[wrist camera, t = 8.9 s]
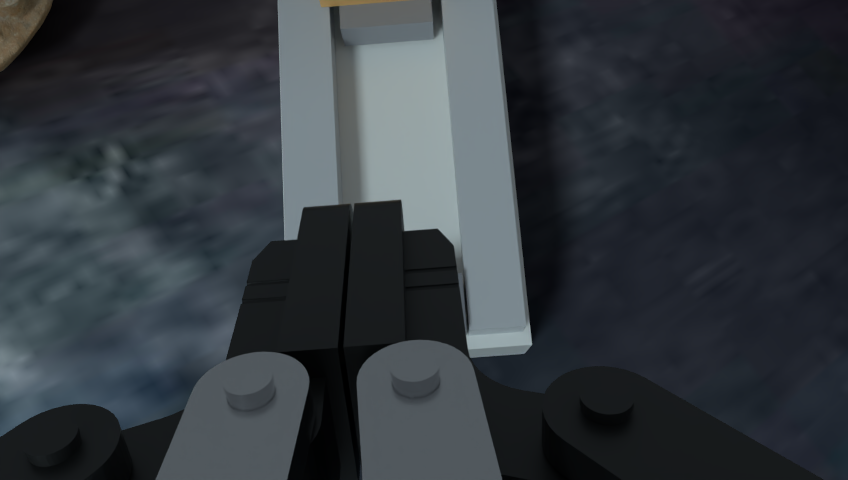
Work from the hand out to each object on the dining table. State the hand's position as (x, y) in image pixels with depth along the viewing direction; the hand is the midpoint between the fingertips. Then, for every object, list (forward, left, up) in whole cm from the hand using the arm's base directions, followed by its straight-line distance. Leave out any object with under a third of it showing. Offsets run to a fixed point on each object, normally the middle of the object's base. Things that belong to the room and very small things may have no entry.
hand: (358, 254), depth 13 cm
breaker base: (-6, +8, -21) cm, 23 cm away
